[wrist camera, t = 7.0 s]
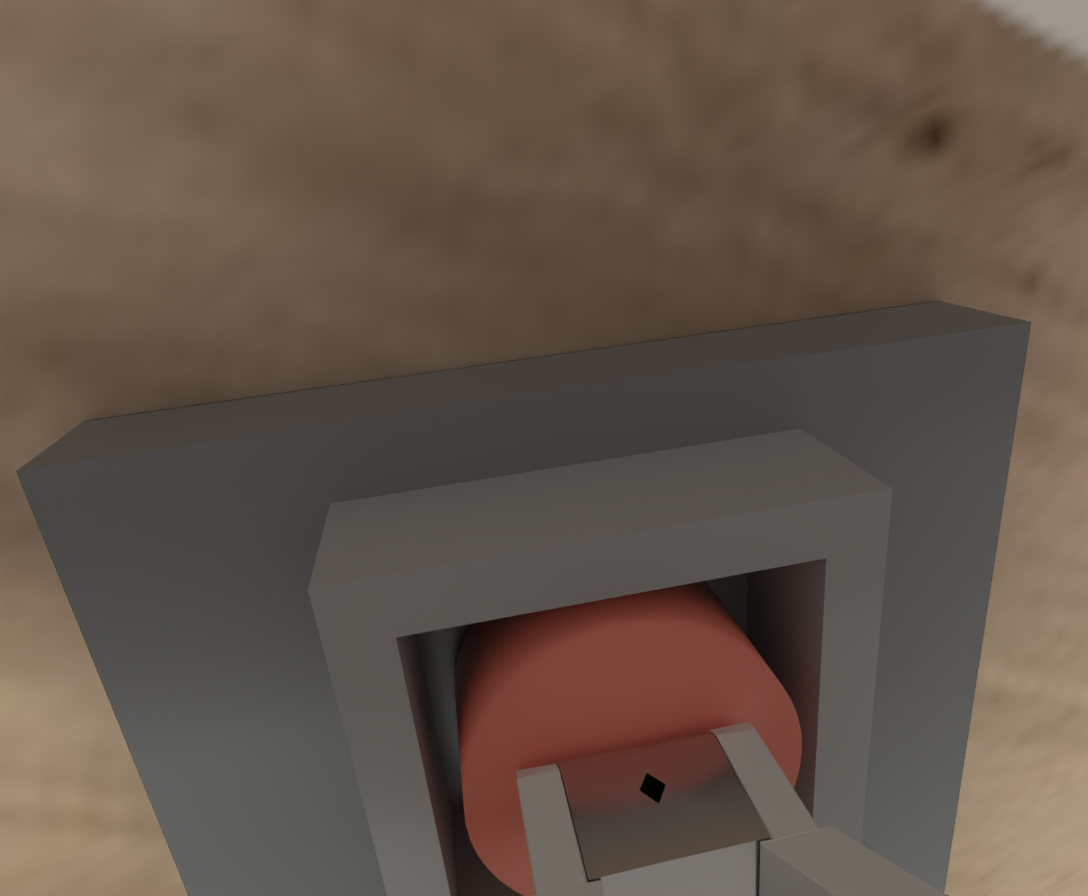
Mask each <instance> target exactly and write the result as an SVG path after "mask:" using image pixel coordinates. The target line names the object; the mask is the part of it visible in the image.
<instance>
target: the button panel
mask: <svg viewBox="0 0 1088 896" xmlns="http://www.w3.org/2000/svg"><path fill="white" fill-rule="evenodd" d="M1030 325H1031V322H1027V321H1023V320H1019V319H1014V318H1010V317H1006V316H1001V315H997V314H993V313H988V312H984V311H980V310H975V309H971V308H967V307H962V306H958V305H954V304H949V303H945V302H941V301H936V302H929V303H922V304H915V305H908V306H901V307H893V308H886V309H879V310H872V311H865V312H858V313H851V314H844V315H836V316H829V317H822V318H815V319H808V320H801V321H794V322H787V323H779V324H772V325H765V326H758V327H751V328H744V329H737V330H730V331H723V332H715V333H708V334H701V335H694V336H687V337H680V338H673V339H666V340H658V341H651V342H644V343H637V344H630V345H623V346H616V347H609V348H601V349H594V350H587V351H580V352H573V353H566V354H559V355H552V356H545V357H537V358H530V359H523V360H516V361H509V362H502V363H495V364H488V365H480V366H473V367H466V368H459V369H452V370H445V371H438V372H431V373H423V374H416V375H409V376H402V377H395V378H388V379H381V380H374V381H366V382H359V383H352V384H345V385H338V386H331V387H324V388H317V389H310V390H302V391H295V392H288V393H281V394H274V395H267V396H260V397H253V398H245V399H238V400H231V401H224V402H217V403H210V404H203V405H196V406H188V407H181V408H174V409H167V410H160V411H153V412H146V413H139V414H132V415H124V416H117V417H110V418H103V419H96V420H89V421H84V422H83V423H82V424H80V425H79V426H78V427H76V428H75V429H73V430H72V431H71V432H69V433H68V434H67V435H65V436H64V437H63V438H61V439H60V440H58V441H57V442H56V443H54V444H53V445H52V446H50V447H49V448H47V449H46V450H45V451H43V452H42V453H41V454H39V455H38V456H37V457H35V458H34V459H32V460H31V461H30V462H28V463H27V464H26V465H24V466H23V467H21V468H20V469H19V470H17V471H16V472H17V475H18V477H19V479H20V482H21V484H22V487H23V489H24V492H25V494H26V497H27V499H28V502H29V504H30V507H31V509H32V511H33V514H34V516H35V519H36V521H37V524H38V526H39V529H40V531H41V534H42V536H43V539H44V541H45V544H46V546H47V548H48V551H49V553H50V556H51V558H52V561H53V563H54V566H55V568H56V571H57V573H58V576H59V578H60V580H61V583H62V585H63V588H64V590H65V593H66V595H67V598H68V600H69V603H70V605H71V608H72V610H73V612H74V615H75V617H76V620H77V622H78V625H79V627H80V630H81V632H82V635H83V637H84V640H85V642H86V645H87V647H88V649H89V652H90V654H91V657H92V659H93V662H94V664H95V667H96V669H97V672H98V674H99V677H100V679H101V681H102V684H103V686H104V689H105V691H106V694H107V696H108V699H109V701H110V704H111V706H112V709H113V711H114V713H115V716H116V718H117V721H118V723H119V726H120V728H121V731H122V733H123V736H124V738H125V741H126V743H127V746H128V748H129V750H130V753H131V755H132V758H133V760H134V763H135V765H136V768H137V770H138V773H139V775H140V778H141V780H142V782H143V785H144V787H145V790H146V792H147V795H148V797H149V800H150V802H151V805H152V807H153V810H154V812H155V814H156V817H157V819H158V822H159V824H160V827H161V829H162V832H163V834H164V837H165V839H166V842H167V844H168V847H169V849H170V851H171V854H172V856H173V859H174V861H175V864H176V866H177V869H178V871H179V874H180V876H181V879H182V881H183V883H184V886H185V888H186V891H187V893H188V896H523V895H522V894H520V893H518V892H516V891H514V890H512V889H511V888H510V887H508V886H507V885H505V884H504V883H503V882H501V881H500V880H499V879H498V878H497V877H496V876H495V875H494V874H493V873H492V872H491V871H490V870H489V869H488V868H487V867H486V866H485V864H484V863H483V862H482V860H481V859H480V858H479V856H478V855H477V853H476V851H475V849H474V847H473V845H472V842H471V840H470V837H469V834H468V830H467V827H466V823H465V814H464V804H463V791H462V778H461V765H460V753H459V740H458V727H457V714H456V702H455V689H454V683H455V669H456V665H457V660H458V656H459V652H460V650H461V647H462V644H463V642H464V639H465V637H466V635H467V633H468V631H469V630H470V628H471V626H472V624H473V623H478V622H483V621H489V620H494V619H500V618H505V617H511V616H516V615H521V614H527V613H532V612H538V611H543V610H549V609H554V608H559V607H565V606H570V605H576V604H581V603H587V602H592V601H597V600H603V599H608V598H614V597H619V596H625V595H630V594H635V593H641V592H646V591H652V590H657V589H663V588H668V587H673V586H679V585H684V584H690V583H695V582H701V581H705V582H706V583H707V584H708V585H709V587H710V588H711V589H712V590H713V591H714V592H715V594H716V595H717V596H718V598H719V599H720V601H721V602H722V603H723V605H724V606H725V607H726V609H727V610H728V612H729V613H730V614H731V616H732V617H733V618H734V620H735V621H736V623H737V624H738V625H739V627H740V628H741V629H742V631H743V632H744V634H745V635H746V636H747V638H748V639H749V640H750V642H751V643H752V645H753V646H754V647H755V649H756V650H757V651H758V653H759V654H760V656H761V657H762V658H763V660H764V661H765V662H766V664H767V665H768V667H769V668H770V669H771V671H772V672H773V673H774V675H775V676H776V678H777V679H778V680H779V682H780V683H781V684H782V686H783V687H784V689H785V691H786V692H787V694H788V695H789V697H790V699H791V700H792V702H793V705H794V707H795V710H796V712H797V715H798V718H799V723H800V728H801V733H802V755H801V763H800V769H799V773H798V776H797V780H796V784H795V786H794V790H795V792H796V793H797V795H798V796H799V798H800V799H801V801H802V803H803V804H804V806H805V807H806V809H807V810H808V812H809V814H810V815H811V817H812V818H813V820H814V821H815V823H816V825H817V826H818V828H822V827H827V826H832V827H834V828H836V829H837V830H839V831H841V832H842V833H844V834H846V835H847V836H849V837H851V838H852V839H854V840H856V841H857V842H859V843H861V844H862V845H864V846H866V847H867V848H869V849H871V850H872V851H874V852H876V853H877V854H879V855H881V856H882V857H884V858H886V859H887V860H889V861H891V862H892V863H894V864H896V865H897V866H899V867H901V868H902V869H904V870H906V871H907V872H909V873H911V874H912V875H914V876H916V877H917V878H919V879H921V880H922V881H924V882H926V883H927V884H929V885H931V886H932V887H934V888H936V889H937V890H939V891H941V892H943V893H944V890H945V884H946V877H947V871H948V864H949V857H950V851H951V844H952V838H953V831H954V825H955V818H956V811H957V805H958V798H959V792H960V785H961V779H962V772H963V765H964V759H965V752H966V746H967V739H968V733H969V726H970V719H971V713H972V706H973V700H974V693H975V687H976V680H977V673H978V667H979V660H980V654H981V647H982V641H983V634H984V627H985V621H986V614H987V608H988V601H989V594H990V588H991V581H992V575H993V568H994V562H995V555H996V548H997V542H998V535H999V529H1000V522H1001V516H1002V509H1003V502H1004V496H1005V489H1006V483H1007V476H1008V470H1009V463H1010V456H1011V450H1012V443H1013V437H1014V430H1015V424H1016V417H1017V410H1018V404H1019V397H1020V391H1021V384H1022V378H1023V371H1024V364H1025V358H1026V351H1027V345H1028V338H1029V332H1030Z"/></svg>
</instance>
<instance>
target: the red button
mask: <svg viewBox="0 0 1088 896" xmlns="http://www.w3.org/2000/svg"><path fill="white" fill-rule="evenodd" d="M454 689H455V702H456V714H457V727H458V740H459V753H460V765H461V778H462V791H463V804H464V814H465V823H466V827H467V830H468V834H469V837H470V840H471V842H472V845H473V847H474V849H475V851H476V853H477V855H478V856H479V858H480V859H481V860H482V862H483V863H484V864H485V866H486V867H487V868H488V869H489V870H490V871H491V872H492V873H493V874H494V875H495V876H496V877H497V878H498V879H499V880H500V881H501V882H503V883H504V884H505V885H507V886H508V887H510V888H511V889H512V890H514V891H516V892H518V893H520V894H522V895H523V896H533V895H534V891H533V885H532V879H531V872H530V865H529V858H528V852H527V845H526V838H525V832H524V825H523V818H522V811H521V805H520V798H519V791H518V785H517V770H522V769H528V768H533V767H539V766H544V765H550V764H555V763H556V764H557V763H558V762H561V761H566V760H571V759H577V758H582V757H588V756H593V755H598V754H604V753H609V752H614V751H620V750H625V749H631V748H633V747H636V746H641V745H645V744H650V743H654V742H659V741H663V740H668V739H672V738H676V737H681V736H685V735H690V734H694V733H699V732H703V731H708V732H709V731H710V730H712V729H717V728H721V727H726V726H730V725H735V724H739V723H744V722H748V723H750V724H751V725H753V726H754V727H755V728H756V730H757V732H758V733H759V735H760V736H761V738H762V740H763V741H764V743H765V744H766V746H767V747H768V749H769V751H770V752H771V754H772V755H773V757H774V758H775V760H776V762H777V763H778V765H779V766H780V768H781V769H782V771H783V773H784V774H785V776H786V777H787V779H788V780H789V782H790V784H791V785H792V787H793V788H794V786H795V784H796V780H797V776H798V773H799V769H800V763H801V755H802V733H801V728H800V723H799V718H798V715H797V712H796V710H795V707H794V705H793V702H792V700H791V699H790V697H789V695H788V694H787V692H786V691H785V689H784V687H783V686H782V684H781V683H780V682H779V680H778V679H777V678H776V676H775V675H774V673H773V672H772V671H771V669H770V668H769V667H768V665H767V664H766V662H765V661H764V660H763V658H762V657H761V656H760V654H759V653H758V651H757V650H756V649H755V647H754V646H753V645H752V643H751V642H750V640H749V639H748V638H747V636H746V635H745V634H744V632H743V631H742V629H741V628H740V627H739V625H738V624H737V623H736V621H735V620H734V618H733V617H732V616H731V614H730V613H729V612H728V610H727V609H726V607H725V606H724V605H723V603H722V602H721V601H720V599H719V598H718V596H717V595H716V594H715V592H714V591H713V590H712V589H711V588H710V587H709V585H708V584H707V583H706V582H705V581H701V582H695V583H690V584H684V585H679V586H673V587H668V588H663V589H657V590H652V591H646V592H641V593H635V594H630V595H625V596H619V597H614V598H608V599H603V600H597V601H592V602H587V603H581V604H576V605H570V606H565V607H559V608H554V609H549V610H543V611H538V612H532V613H527V614H521V615H516V616H511V617H505V618H500V619H494V620H489V621H483V622H478V623H473V624H472V626H471V628H470V630H469V631H468V633H467V635H466V637H465V639H464V642H463V644H462V647H461V650H460V652H459V656H458V660H457V665H456V669H455V683H454Z"/></svg>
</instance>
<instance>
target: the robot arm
mask: <svg viewBox="0 0 1088 896" xmlns="http://www.w3.org/2000/svg"><path fill="white" fill-rule="evenodd" d="M517 785H518V791H519V798H520V805H521V811H522V818H523V825H524V832H525V838H526V845H527V852H528V858H529V865H530V872H531V879H532V885H533V891H534V895H533V896H948V895H946V894H944V893H943V892H941V891H939V890H937V889H936V888H934V887H932V886H931V885H929V884H927V883H926V882H924V881H922V880H921V879H919V878H917V877H916V876H914V875H912V874H911V873H909V872H907V871H906V870H904V869H902V868H901V867H899V866H897V865H896V864H894V863H892V862H891V861H889V860H887V859H886V858H884V857H882V856H881V855H879V854H877V853H876V852H874V851H872V850H871V849H869V848H867V847H866V846H864V845H862V844H861V843H859V842H857V841H856V840H854V839H852V838H851V837H849V836H847V835H846V834H844V833H842V832H841V831H839V830H837V829H836V828H834V827H832V826H827V827H822V828H818V826H817V825H816V823H815V821H814V820H813V818H812V817H811V815H810V814H809V812H808V810H807V809H806V807H805V806H804V804H803V803H802V801H801V799H800V798H799V796H798V795H797V793H796V792H795V790H794V788H793V787H792V785H791V784H790V782H789V780H788V779H787V777H786V776H785V774H784V773H783V771H782V769H781V768H780V766H779V765H778V763H777V762H776V760H775V758H774V757H773V755H772V754H771V752H770V751H769V749H768V747H767V746H766V744H765V743H764V741H763V740H762V738H761V736H760V735H759V733H758V732H757V730H756V728H755V727H754V726H753V725H751V724H750V723H748V722H744V723H739V724H735V725H730V726H726V727H721V728H717V729H712V730H710V731H709V732H708V731H703V732H699V733H694V734H690V735H685V736H681V737H676V738H672V739H668V740H663V741H659V742H654V743H650V744H645V745H641V746H636V747H633V748H631V749H625V750H620V751H614V752H609V753H604V754H598V755H593V756H588V757H582V758H577V759H571V760H566V761H561V762H558V763H557V764H556V763H555V764H550V765H544V766H539V767H533V768H528V769H522V770H517Z"/></svg>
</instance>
